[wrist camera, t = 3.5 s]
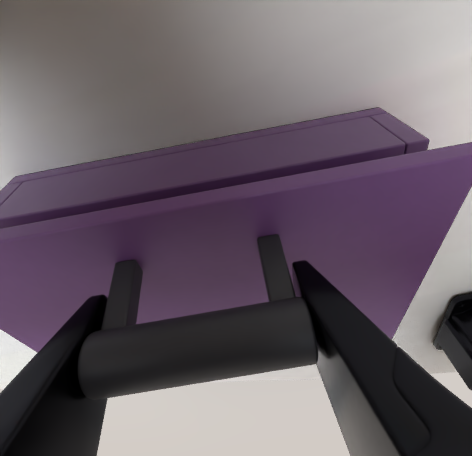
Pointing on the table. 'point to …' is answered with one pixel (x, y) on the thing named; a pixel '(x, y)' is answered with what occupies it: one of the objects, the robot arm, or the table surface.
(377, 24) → the table surface
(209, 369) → the lid
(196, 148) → the box
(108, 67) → the table surface
